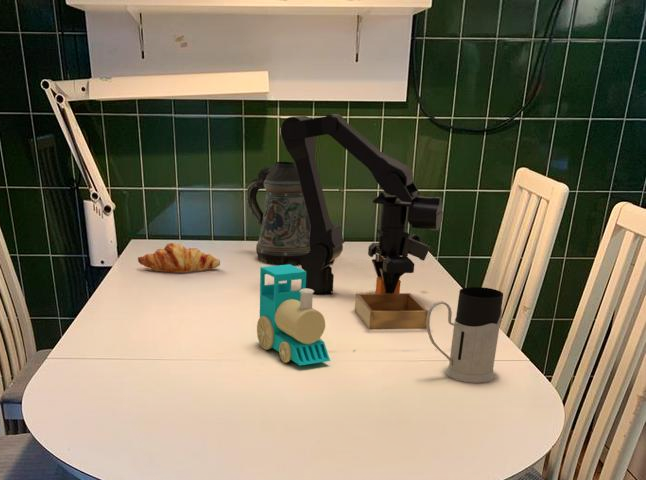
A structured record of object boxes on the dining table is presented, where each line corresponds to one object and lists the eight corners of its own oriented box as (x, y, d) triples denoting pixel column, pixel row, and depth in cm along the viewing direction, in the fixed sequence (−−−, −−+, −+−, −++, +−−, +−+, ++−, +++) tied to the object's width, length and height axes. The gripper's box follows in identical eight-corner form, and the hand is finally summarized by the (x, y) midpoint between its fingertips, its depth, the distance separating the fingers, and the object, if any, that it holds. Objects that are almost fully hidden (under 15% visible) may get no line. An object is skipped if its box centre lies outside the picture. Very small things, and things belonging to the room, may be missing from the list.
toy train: (295, 371, 148) (298, 288, 141) (255, 344, 161) (256, 267, 154) (333, 365, 152) (338, 284, 145) (291, 339, 164) (293, 263, 157)
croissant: (219, 279, 219) (219, 249, 219) (221, 269, 209) (221, 238, 209) (138, 278, 216) (138, 248, 216) (137, 268, 206) (136, 236, 206)
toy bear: (379, 300, 188) (382, 266, 184) (375, 295, 191) (377, 262, 188) (399, 300, 188) (402, 266, 185) (394, 295, 192) (397, 262, 189)
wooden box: (368, 331, 170) (370, 312, 168) (354, 312, 183) (355, 293, 181) (426, 331, 172) (428, 311, 170) (408, 311, 184) (410, 293, 183)
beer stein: (316, 267, 220) (320, 167, 208) (243, 264, 220) (244, 165, 208) (314, 253, 235) (318, 160, 223) (246, 251, 235) (247, 158, 223)
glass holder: (503, 380, 147) (516, 297, 140) (431, 386, 143) (441, 302, 136) (479, 364, 154) (491, 284, 147) (410, 370, 150) (418, 288, 143)
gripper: (440, 234, 175) (432, 306, 183) (416, 218, 192) (410, 284, 199) (390, 234, 174) (383, 306, 181) (370, 217, 190) (365, 285, 197)
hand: (387, 295), depth 190 cm, fingers closed on toy bear, 4 cm apart
